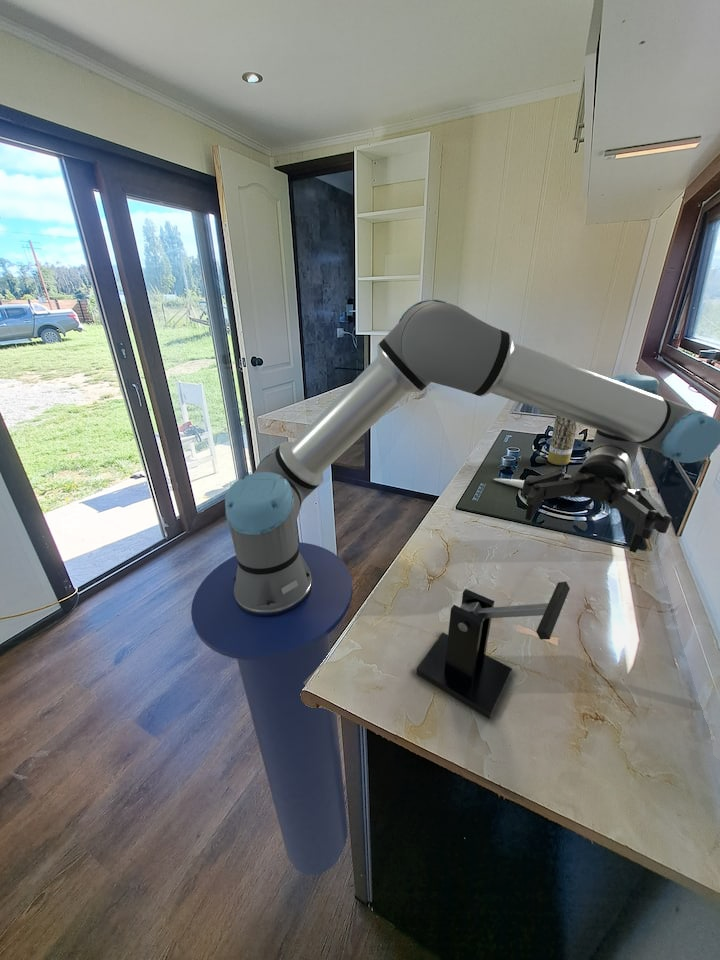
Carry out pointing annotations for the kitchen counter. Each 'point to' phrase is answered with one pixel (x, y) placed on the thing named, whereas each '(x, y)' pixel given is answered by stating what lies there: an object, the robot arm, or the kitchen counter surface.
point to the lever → (528, 610)
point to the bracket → (466, 660)
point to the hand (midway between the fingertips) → (578, 527)
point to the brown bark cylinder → (562, 441)
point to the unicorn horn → (512, 482)
